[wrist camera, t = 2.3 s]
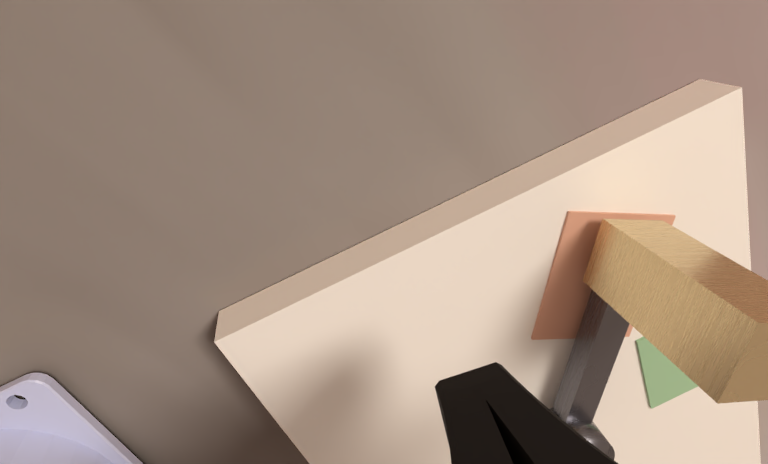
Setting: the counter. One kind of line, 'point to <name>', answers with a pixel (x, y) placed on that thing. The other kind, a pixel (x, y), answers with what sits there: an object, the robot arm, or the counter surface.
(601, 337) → the wooden handled crank
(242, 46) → the counter surface
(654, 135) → the board
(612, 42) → the counter surface
